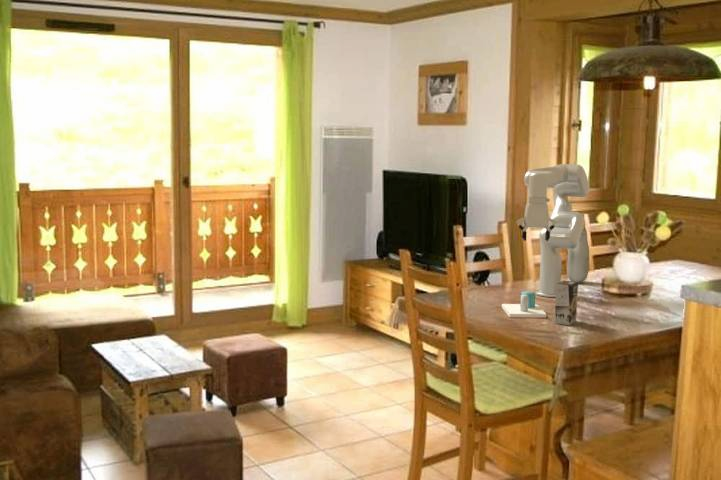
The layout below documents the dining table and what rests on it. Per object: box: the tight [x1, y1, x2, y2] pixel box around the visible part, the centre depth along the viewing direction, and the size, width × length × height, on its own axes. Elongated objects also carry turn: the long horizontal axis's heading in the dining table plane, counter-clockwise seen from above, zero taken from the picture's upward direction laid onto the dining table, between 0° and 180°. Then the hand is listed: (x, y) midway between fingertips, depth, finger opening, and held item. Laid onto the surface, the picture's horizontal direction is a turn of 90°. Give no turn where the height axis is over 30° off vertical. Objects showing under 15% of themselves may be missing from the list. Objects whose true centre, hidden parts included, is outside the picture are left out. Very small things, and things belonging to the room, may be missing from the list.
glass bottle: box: [566, 227, 590, 284], centre depth 390 cm, size 10×10×28 cm
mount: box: [501, 294, 547, 319], centre depth 327 cm, size 15×18×8 cm
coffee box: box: [554, 280, 579, 326], centre depth 310 cm, size 9×6×16 cm
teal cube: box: [519, 290, 536, 308], centre depth 331 cm, size 6×6×6 cm
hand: (535, 240), depth 339 cm, fingers open, 9 cm apart
